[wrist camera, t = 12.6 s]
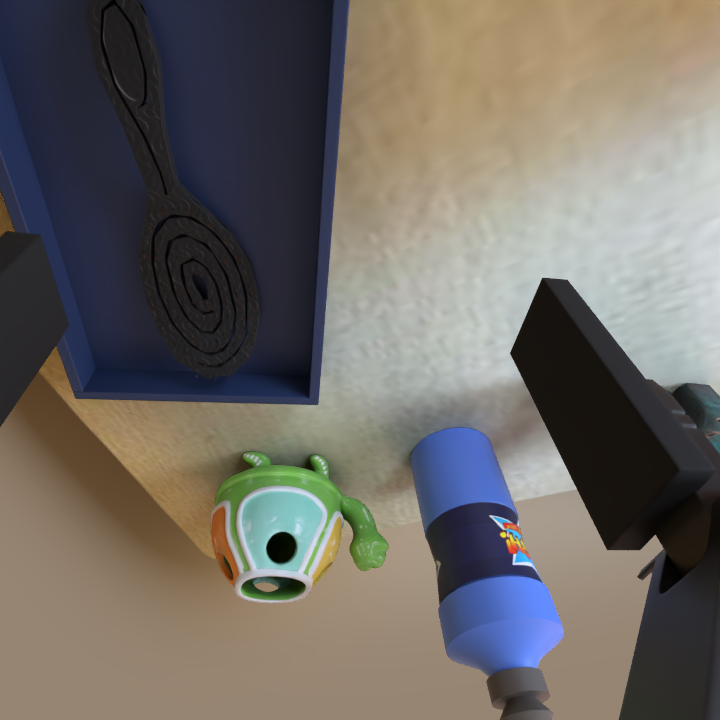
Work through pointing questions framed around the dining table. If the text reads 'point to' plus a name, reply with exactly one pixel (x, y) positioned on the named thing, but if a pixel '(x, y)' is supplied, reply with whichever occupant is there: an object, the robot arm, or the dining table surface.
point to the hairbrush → (173, 209)
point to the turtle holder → (287, 529)
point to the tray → (195, 172)
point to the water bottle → (484, 571)
